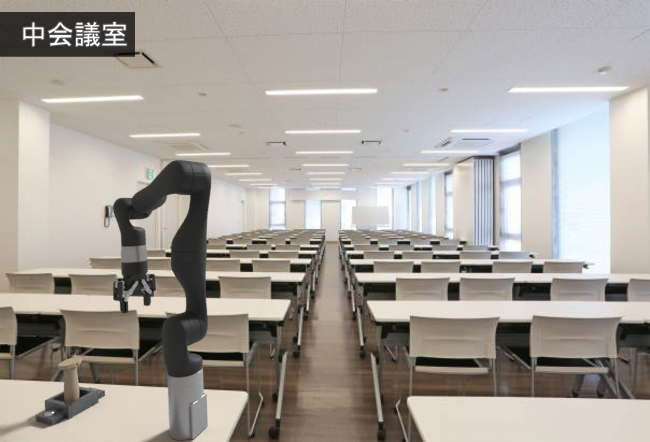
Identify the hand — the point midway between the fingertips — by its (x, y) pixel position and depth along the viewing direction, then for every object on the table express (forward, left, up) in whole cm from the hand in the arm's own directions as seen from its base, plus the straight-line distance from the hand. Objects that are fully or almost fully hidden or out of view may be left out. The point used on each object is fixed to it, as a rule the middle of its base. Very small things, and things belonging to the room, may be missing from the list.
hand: (136, 309), depth 112 cm
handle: (+17, +10, -30) cm, 36 cm away
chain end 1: (+17, +12, -30) cm, 37 cm away
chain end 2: (+17, +8, -30) cm, 35 cm away
